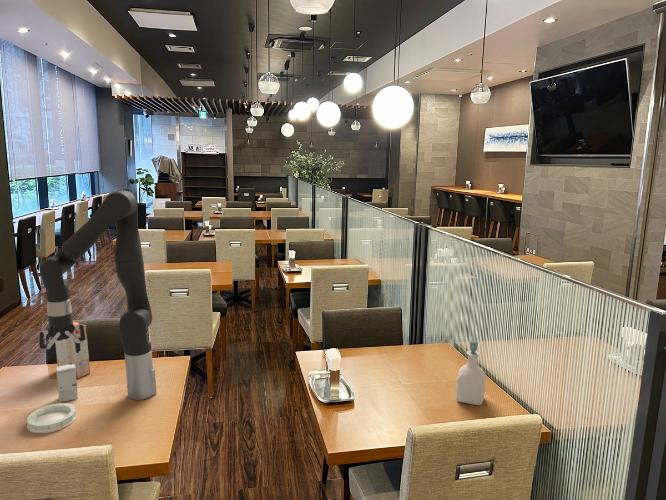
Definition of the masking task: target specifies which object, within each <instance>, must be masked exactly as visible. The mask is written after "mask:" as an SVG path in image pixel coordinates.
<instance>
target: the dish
mask: <svg viewBox="0 0 666 500" xmlns="http://www.w3.org/2000/svg"><path fill="white" fill-rule="evenodd" d="M77 418H78V413H77V409H76V407H75V405H74V404H71V403H67V402H64V403H63V402H59V403H52V404H49V405H45V406H42V407H40V408H38V409H36V410H34V411H32V412H31V413H30V414H29V415H28V416H27V418H26V420H27V421H26V427H27V428H26V429H27V430H28V431H29V432H30V433H32V434H48V433H49V434H50V433H54V432H58V431H60V430H63V429H65V428H67V427H68V426H71V425H72V424H73V423H74V422H75V421H76V419H77Z"/></svg>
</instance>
